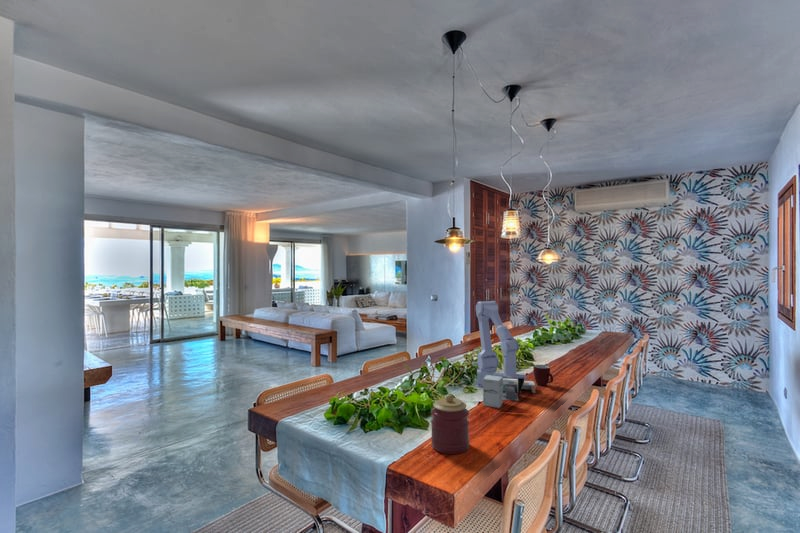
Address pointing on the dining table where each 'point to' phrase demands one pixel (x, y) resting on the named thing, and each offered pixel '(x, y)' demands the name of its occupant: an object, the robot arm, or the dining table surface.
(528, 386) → the socket bar
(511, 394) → the plug
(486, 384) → the supplement box
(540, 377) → the mug
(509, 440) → the dining table surface
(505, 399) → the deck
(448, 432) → the canister
